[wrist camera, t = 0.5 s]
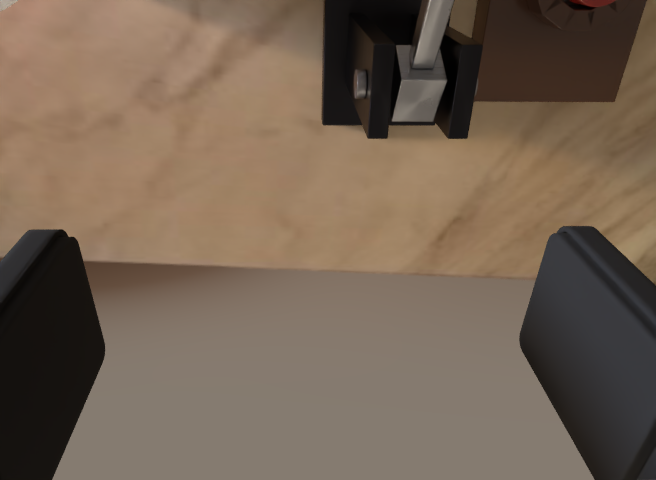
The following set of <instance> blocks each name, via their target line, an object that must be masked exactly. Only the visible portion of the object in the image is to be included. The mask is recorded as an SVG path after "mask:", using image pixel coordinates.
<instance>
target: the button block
mask: <svg viewBox="0 0 656 480" xmlns="http://www.w3.org/2000/svg"><path fill="white" fill-rule="evenodd" d="M646 1H647V0H615V1H614V2H612V3H610V4H608V5H605V6H602V7H590V6H585V5H581V4H577V3H573V2H571V1H570V0H478V3H477V9H476V16H475V22H474V28H473V34H472V39H473V40H474V41H476V42H478V43H480V44H482V45H483V50H482V56H481V62H480V68H479V73H478V89H477V93H476V95H475V97H474V101H502V102H615V99H616V96H617V92H618V89H619V86H620V83H621V80H622V77H623V73H624V70H625V67H626V64H627V61H628V58H629V55H630V51H631V48H632V45H633V42H634V39H635V36H636V32H637V29H638V26H639V23H640V20H641V17H642V13H643V10H644V7H645V4H646Z"/></svg>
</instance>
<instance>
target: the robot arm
mask: <svg viewBox="0 0 656 480" xmlns="http://www.w3.org/2000/svg"><path fill="white" fill-rule="evenodd" d="M520 346H521V349H522V352H523V353H524V355H525V357H526V358H527V360H528V362H529V364H530V365H531V367H532V369H533V371H534V373H535V375H536V376H537V378H538V380H539V382H540V383H541V385H542V387H543V389H544V390H545V392H546V394H547V396H548V398H549V399H550V401H551V403H552V405H553V407H554V408H555V410H556V412H557V413H558V415H559V417H560V419H561V421H562V422H563V424H564V426H565V428H566V429H567V431H568V433H569V435H570V436H571V438H572V440H573V442H574V444H575V445H576V447H577V449H578V451H579V453H580V454H581V456H582V458H583V460H584V461H585V463H586V465H587V467H588V468H589V470H590V472H591V474H592V476H593V477H594V479H595V480H656V285H655V284H653V283H652V282H651V281H650V280H649V279H648V278H647V277H646V276H645V275H644V274H643V273H642V272H641V271H640V270H639V269H638V268H637V267H636V266H635V265H634V264H632V263H631V262H630V261H629V260H628V259H627V258H626V257H625V256H624V255H623V254H622V253H621V252H620V251H619V250H618V249H617V248H616V247H615V246H614V245H612V244H611V243H610V242H609V241H608V240H607V239H606V238H605V237H604V236H603V235H602V234H601V233H600V232H599V231H598V230H597V229H595V228H594V227H592V226H563V227H561V228H560V229H559V230H558V231H557V233H554V234H552V235H551V236H550V237H549V239H548V242H547V245H546V249H545V252H544V255H543V259H542V262H541V265H540V269H539V272H538V275H537V278H536V282H535V285H534V288H533V292H532V296H531V298H530V302H529V305H528V308H527V312H526V315H525V318H524V322H523V325H522V328H521V332H520ZM104 356H105V343H104V339H103V335H102V331H101V327H100V324H99V320H98V316H97V312H96V308H95V304H94V301H93V297H92V293H91V289H90V285H89V282H88V278H87V275H86V270H85V267H84V263H83V259H82V255H81V251H80V247H79V244H78V241H77V240H76V238H74V237H68V235H67V233H66V232H65V231H64V230H29V231H27V232H26V233H25V234H24V235H23V236H22V237H21V239H20V240H19V241H18V242H17V243H16V244H15V245H14V247H13V248H12V249H11V250H10V251H9V252H8V253H7V255H6V256H5V257H4V258H3V259H2V260H1V261H0V480H52V478H53V476H54V474H55V471H56V469H57V467H58V464H59V462H60V460H61V458H62V455H63V453H64V451H65V448H66V446H67V444H68V441H69V439H70V437H71V434H72V432H73V430H74V428H75V425H76V423H77V421H78V418H79V416H80V413H81V411H82V409H83V407H84V404H85V402H86V400H87V397H88V395H89V393H90V391H91V388H92V386H93V384H94V381H95V379H96V377H97V374H98V372H99V370H100V367H101V365H102V363H103V360H104Z"/></svg>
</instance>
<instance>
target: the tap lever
mask: <svg viewBox="0 0 656 480" xmlns="http://www.w3.org/2000/svg"><path fill="white" fill-rule="evenodd" d="M453 3H454V0H422V3H421V7H420V11H419V15H418V19H417V23H416V27H415V32H414V36H413V40H412V44H411V45H396V47H395V59H394V70H393V81H392V93H391V104H390V115H391V121H410V122H433V121H434V118H435V115H436V112H437V109H438V106H439V103H440V100H441V97H442V94H443V92H444V89H445V86H446V83H447V77H446V72H445V68H444V64H443V59H442V55H441V50H440V46H441V42H442V39H443V36H444V33H445V29H446V26H447V23H448V19H449V16H450V13H451V10H452V6H453Z"/></svg>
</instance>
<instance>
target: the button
mask: <svg viewBox="0 0 656 480" xmlns="http://www.w3.org/2000/svg"><path fill="white" fill-rule="evenodd" d="M570 1H571V2H573V3H577V4H581V5H585V6H590V7H602V6H605V5H608V4H610V3H612V2H614V1H615V0H570Z"/></svg>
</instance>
